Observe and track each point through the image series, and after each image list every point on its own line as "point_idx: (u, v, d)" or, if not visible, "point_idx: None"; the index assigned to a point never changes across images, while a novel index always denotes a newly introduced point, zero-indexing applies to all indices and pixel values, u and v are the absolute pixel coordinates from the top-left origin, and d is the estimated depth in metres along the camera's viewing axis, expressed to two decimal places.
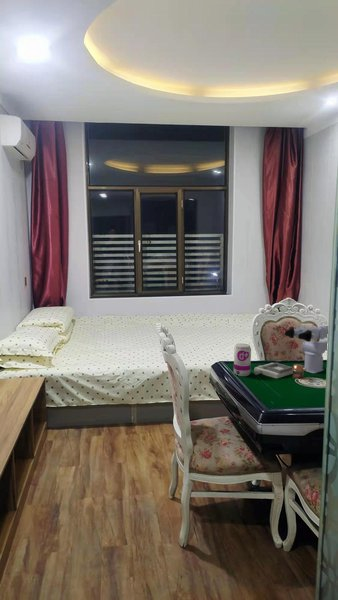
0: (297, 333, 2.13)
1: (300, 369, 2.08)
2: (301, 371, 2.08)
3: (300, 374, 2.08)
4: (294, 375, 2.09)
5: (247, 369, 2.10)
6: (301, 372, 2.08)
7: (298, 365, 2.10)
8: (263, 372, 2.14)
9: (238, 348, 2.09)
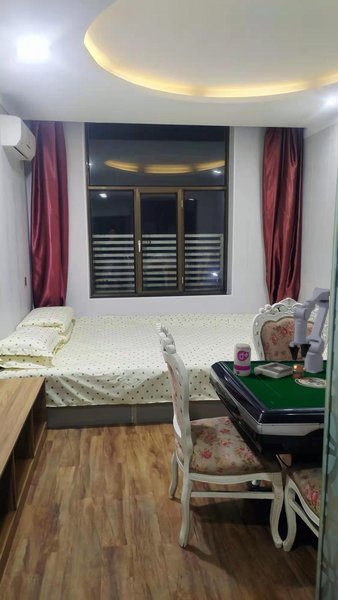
0: (297, 344, 2.07)
1: (300, 369, 2.08)
2: (301, 371, 2.08)
3: (300, 374, 2.08)
4: (294, 375, 2.09)
5: (247, 369, 2.10)
6: (301, 372, 2.08)
7: (298, 365, 2.10)
8: (263, 372, 2.14)
9: (238, 348, 2.09)
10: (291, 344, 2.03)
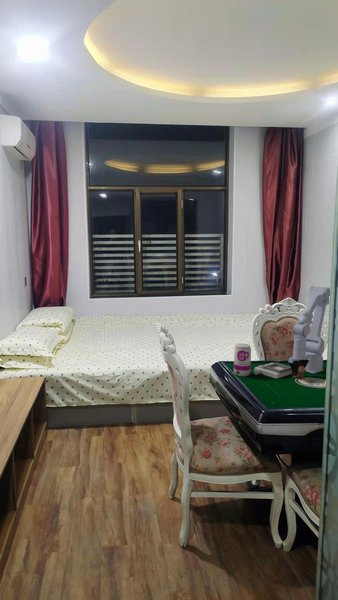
0: (296, 360, 2.08)
1: (300, 369, 2.08)
2: (301, 371, 2.08)
3: (300, 374, 2.08)
4: None
5: (247, 369, 2.10)
6: (301, 372, 2.08)
7: None
8: (263, 372, 2.14)
9: (238, 348, 2.09)
10: (290, 360, 2.05)
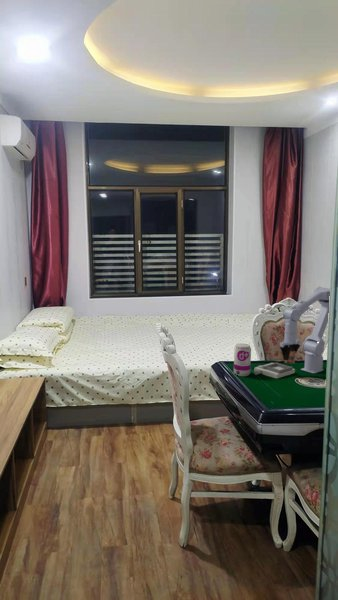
0: (287, 345, 2.10)
1: (291, 354, 2.09)
2: (292, 356, 2.09)
3: (291, 359, 2.09)
4: (285, 360, 2.11)
5: (247, 369, 2.10)
6: (292, 357, 2.09)
7: None
8: (263, 372, 2.14)
9: (238, 348, 2.09)
10: (281, 344, 2.06)
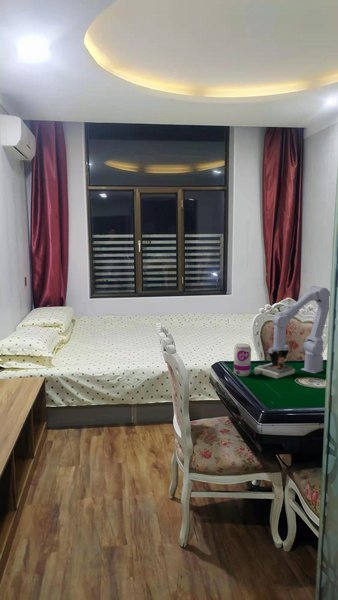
0: None
1: (280, 360, 2.13)
2: (281, 362, 2.13)
3: (280, 365, 2.13)
4: (274, 366, 2.14)
5: (247, 369, 2.10)
6: (281, 363, 2.13)
7: None
8: (263, 372, 2.14)
9: (238, 348, 2.09)
10: (270, 351, 2.10)
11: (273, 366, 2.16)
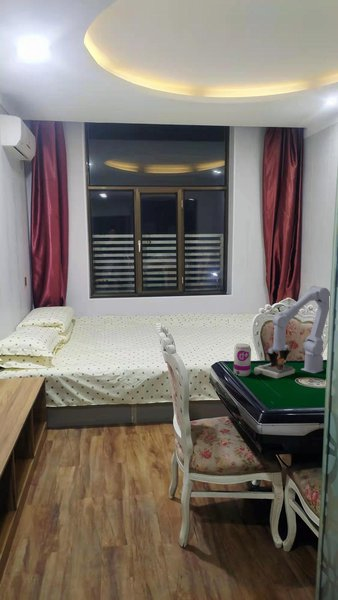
0: (276, 351, 2.14)
1: (280, 361, 2.13)
2: (281, 363, 2.13)
3: (280, 366, 2.13)
4: (274, 367, 2.15)
5: (247, 369, 2.10)
6: (281, 364, 2.13)
7: (278, 357, 2.15)
8: (263, 372, 2.14)
9: (238, 348, 2.09)
10: (270, 351, 2.10)
11: (273, 367, 2.16)
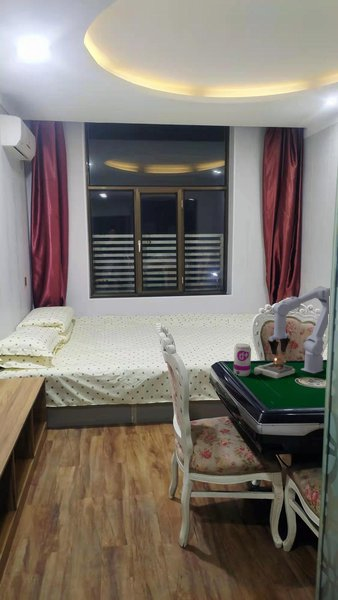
0: (277, 339, 2.14)
1: (280, 361, 2.13)
2: (281, 363, 2.13)
3: (280, 366, 2.13)
4: (274, 367, 2.15)
5: (247, 369, 2.10)
6: (281, 364, 2.13)
7: (278, 357, 2.15)
8: (263, 372, 2.14)
9: (238, 348, 2.09)
10: (270, 339, 2.10)
11: (273, 367, 2.16)
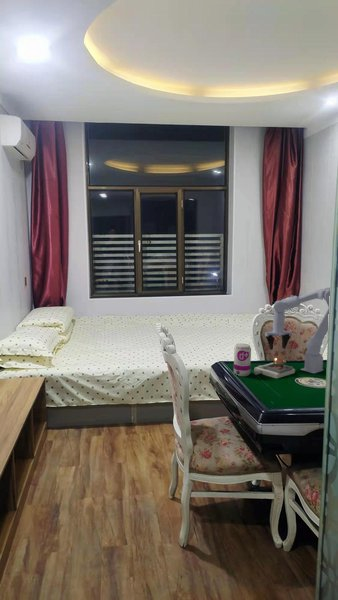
0: (274, 335, 2.22)
1: (280, 361, 2.13)
2: (281, 363, 2.13)
3: (280, 366, 2.13)
4: (274, 367, 2.15)
5: (247, 369, 2.10)
6: (281, 364, 2.13)
7: (278, 357, 2.15)
8: (263, 372, 2.14)
9: (238, 348, 2.09)
10: (266, 334, 2.20)
11: (273, 367, 2.16)
